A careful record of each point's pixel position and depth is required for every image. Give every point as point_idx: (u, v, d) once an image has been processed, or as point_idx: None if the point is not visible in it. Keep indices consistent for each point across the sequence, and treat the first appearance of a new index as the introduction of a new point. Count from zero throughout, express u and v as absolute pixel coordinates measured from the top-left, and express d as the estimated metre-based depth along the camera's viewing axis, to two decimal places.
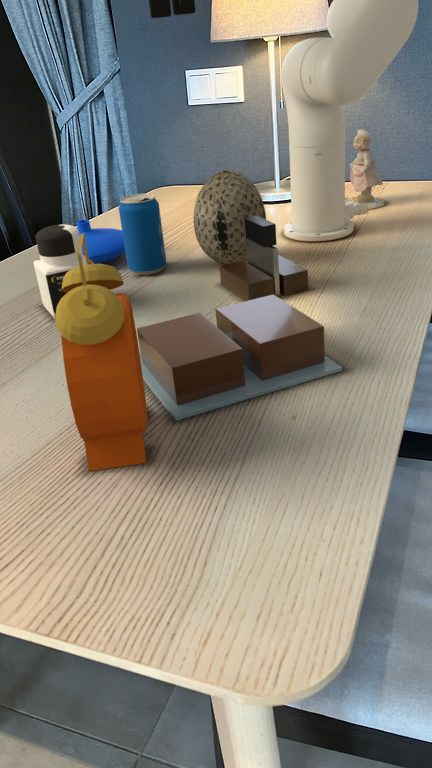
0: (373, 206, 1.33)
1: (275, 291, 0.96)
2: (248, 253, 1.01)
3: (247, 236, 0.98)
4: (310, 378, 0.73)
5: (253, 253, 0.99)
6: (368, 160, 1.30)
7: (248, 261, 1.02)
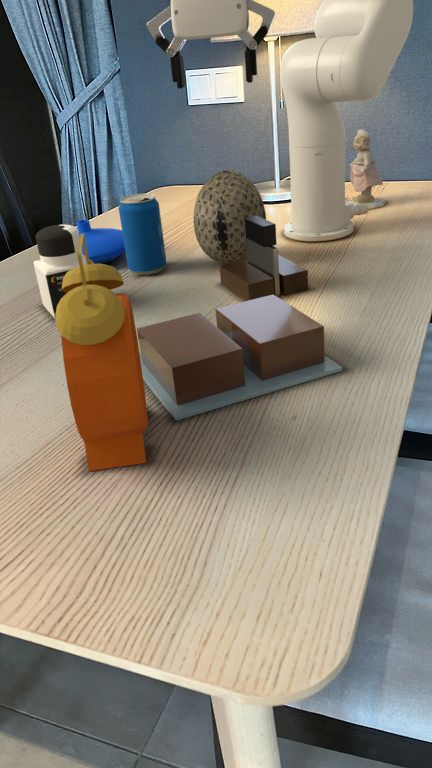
0: (373, 206, 1.33)
1: (275, 291, 0.96)
2: (248, 253, 1.01)
3: (247, 236, 0.98)
4: (310, 378, 0.73)
5: (253, 253, 0.99)
6: (368, 160, 1.30)
7: (248, 261, 1.02)
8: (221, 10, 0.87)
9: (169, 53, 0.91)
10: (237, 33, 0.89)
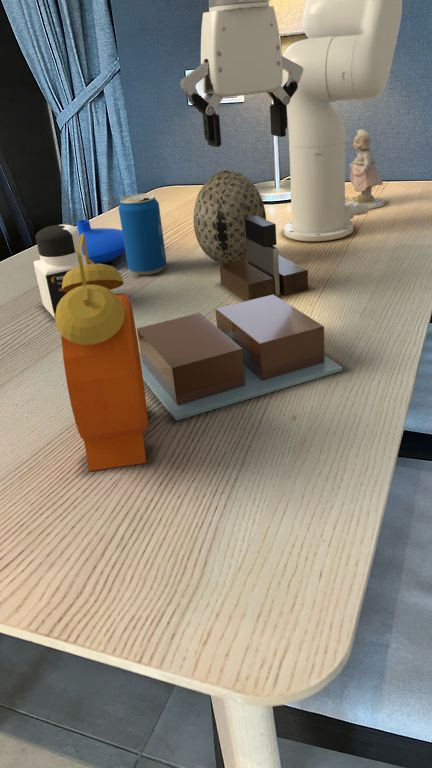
0: (373, 206, 1.33)
1: (275, 291, 0.96)
2: (248, 253, 1.01)
3: (247, 236, 0.98)
4: (310, 378, 0.73)
5: (253, 253, 0.99)
6: (368, 160, 1.30)
7: (248, 261, 1.02)
8: (263, 67, 0.86)
9: (207, 111, 0.87)
10: (274, 89, 0.88)
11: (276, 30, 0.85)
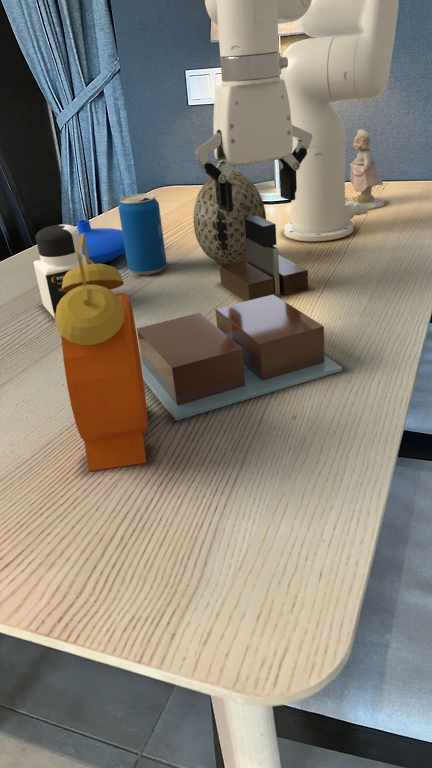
0: (373, 206, 1.33)
1: (275, 291, 0.96)
2: (248, 253, 1.01)
3: (247, 236, 0.98)
4: (310, 378, 0.73)
5: (253, 253, 0.99)
6: (368, 160, 1.30)
7: (248, 261, 1.02)
8: (274, 137, 0.89)
9: (219, 179, 0.89)
10: (284, 157, 0.91)
11: (287, 102, 0.88)
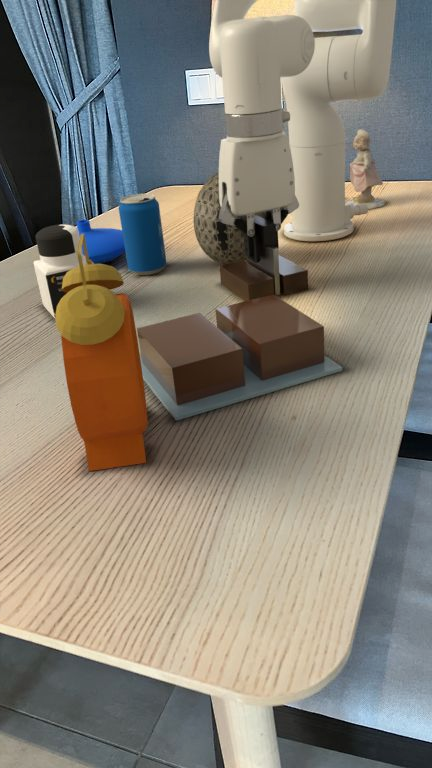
0: (373, 206, 1.33)
1: (275, 291, 0.96)
2: None
3: None
4: (310, 378, 0.73)
5: None
6: (368, 160, 1.30)
7: (248, 261, 1.02)
8: (277, 188, 0.92)
9: (249, 234, 0.95)
10: (287, 205, 0.94)
11: (289, 154, 0.91)
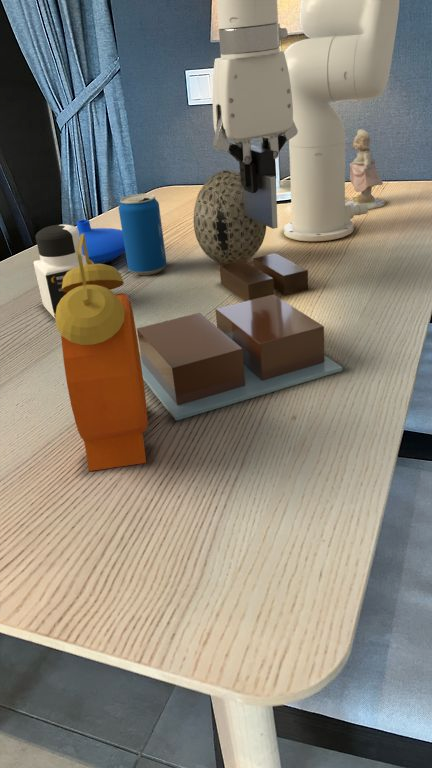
0: (373, 206, 1.33)
1: (272, 223, 0.92)
2: None
3: None
4: (310, 378, 0.73)
5: None
6: (368, 160, 1.30)
7: (244, 195, 0.98)
8: (274, 111, 0.87)
9: (245, 162, 0.90)
10: (285, 130, 0.90)
11: (287, 74, 0.86)
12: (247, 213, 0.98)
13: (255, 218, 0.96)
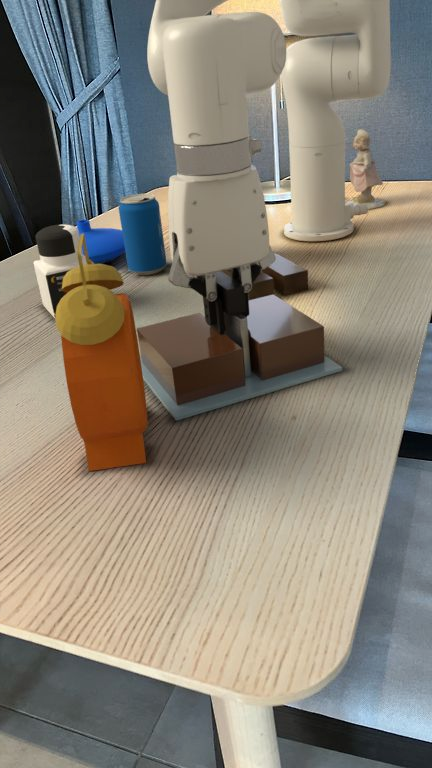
0: (373, 206, 1.33)
1: (245, 371, 0.74)
2: None
3: None
4: (310, 378, 0.73)
5: None
6: (368, 160, 1.30)
7: None
8: (245, 240, 0.70)
9: (209, 298, 0.72)
10: (259, 260, 0.72)
11: (260, 196, 0.69)
12: None
13: None
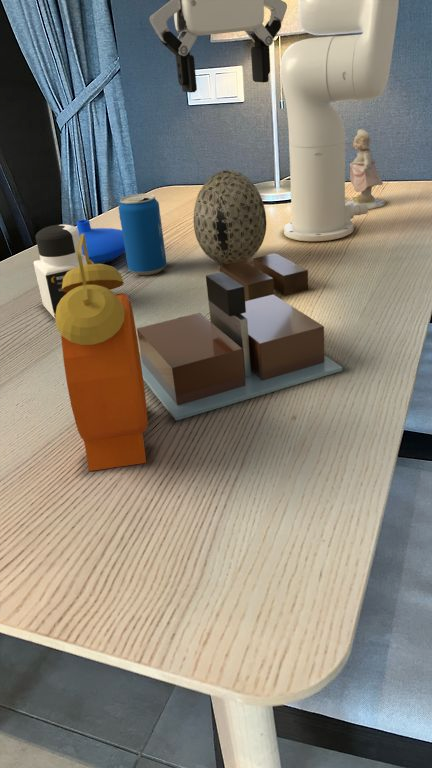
0: (373, 206, 1.33)
1: (245, 371, 0.74)
2: (212, 318, 0.79)
3: (209, 298, 0.76)
4: (310, 378, 0.73)
5: (218, 319, 0.77)
6: (368, 160, 1.30)
7: None
8: (242, 1, 0.77)
9: (180, 52, 0.78)
10: (255, 27, 0.80)
11: None
12: None
13: None
